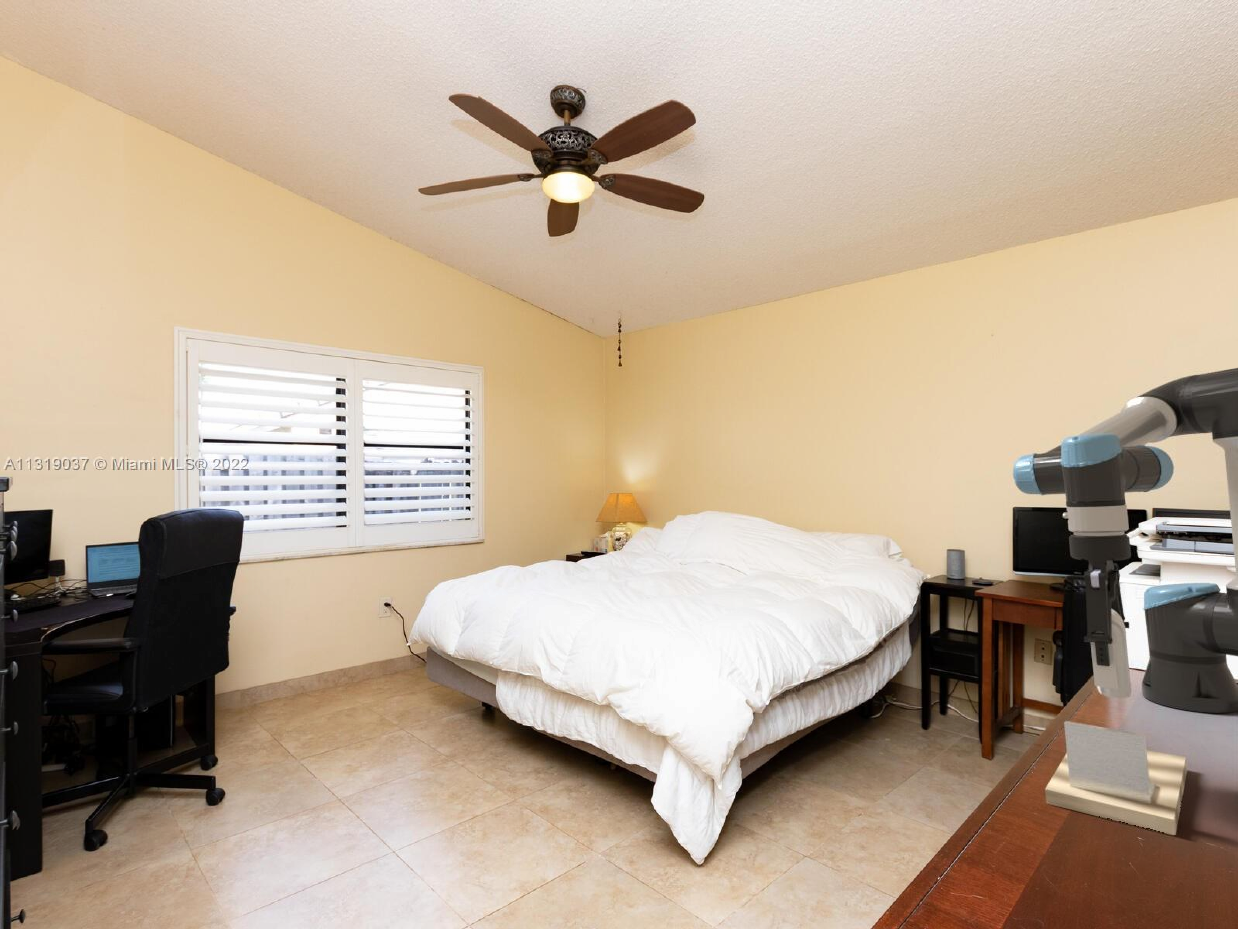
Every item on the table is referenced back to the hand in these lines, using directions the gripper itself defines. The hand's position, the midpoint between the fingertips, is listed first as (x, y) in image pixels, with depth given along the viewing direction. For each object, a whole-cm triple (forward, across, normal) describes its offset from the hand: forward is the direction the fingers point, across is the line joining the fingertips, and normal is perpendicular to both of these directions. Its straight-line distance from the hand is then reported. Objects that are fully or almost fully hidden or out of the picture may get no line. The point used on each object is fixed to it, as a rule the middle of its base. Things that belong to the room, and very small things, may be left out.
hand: (1111, 678), depth 97 cm
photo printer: (+2, 0, 0) cm, 2 cm away
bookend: (+13, +8, 0) cm, 16 cm away
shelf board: (+15, +3, 0) cm, 16 cm away
